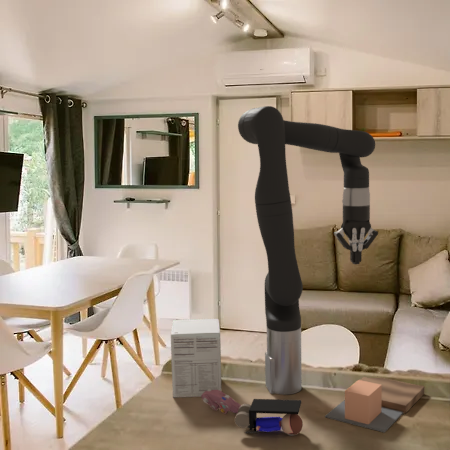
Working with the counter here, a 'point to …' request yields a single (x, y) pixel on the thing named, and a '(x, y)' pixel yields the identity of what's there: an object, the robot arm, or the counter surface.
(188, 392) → the supplement box
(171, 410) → the counter surface
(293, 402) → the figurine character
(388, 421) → the mat
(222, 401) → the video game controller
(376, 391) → the block
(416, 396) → the board
